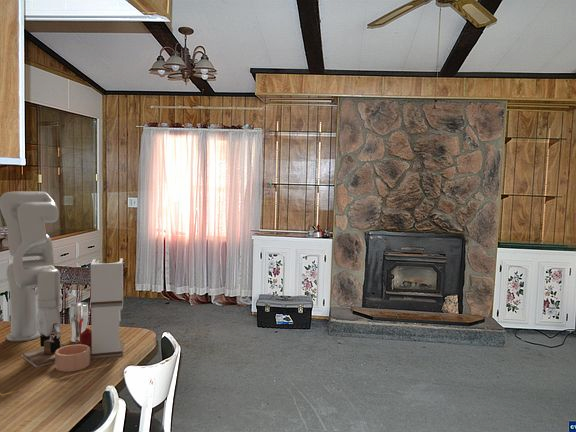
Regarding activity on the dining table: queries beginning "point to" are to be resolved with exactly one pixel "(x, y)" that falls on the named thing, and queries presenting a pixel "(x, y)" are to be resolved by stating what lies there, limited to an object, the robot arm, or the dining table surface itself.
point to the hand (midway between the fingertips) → (50, 348)
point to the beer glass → (78, 319)
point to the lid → (41, 354)
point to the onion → (86, 337)
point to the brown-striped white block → (106, 308)
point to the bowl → (72, 357)
